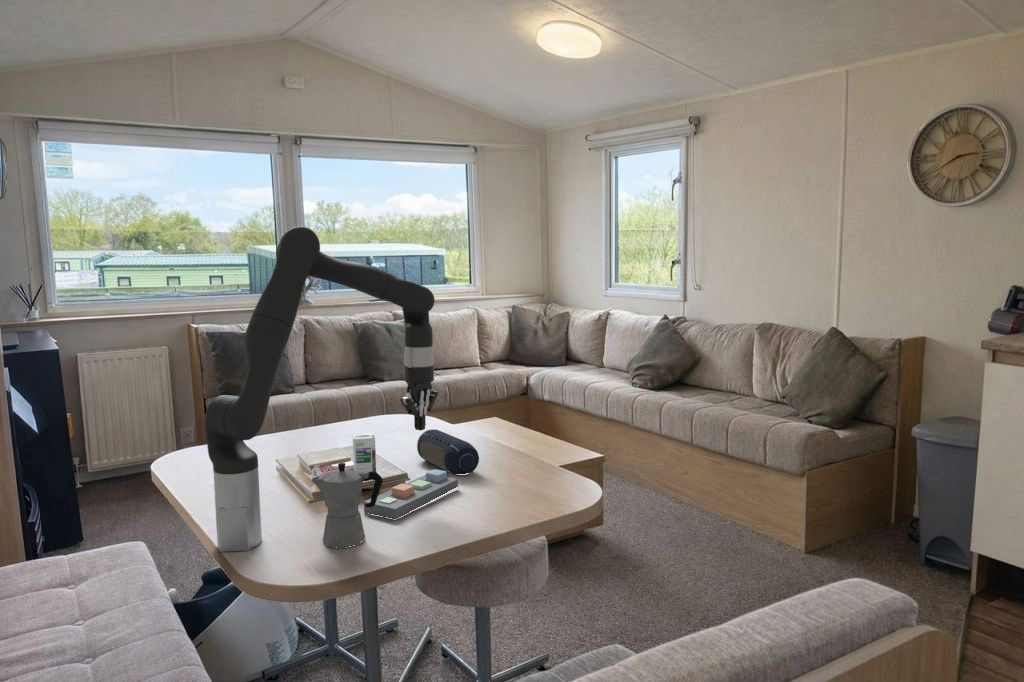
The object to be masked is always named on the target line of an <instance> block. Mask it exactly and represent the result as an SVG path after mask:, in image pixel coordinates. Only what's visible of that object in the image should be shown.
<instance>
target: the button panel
mask: <svg viewBox="0 0 1024 682" xmlns="http://www.w3.org/2000/svg"><path fill="white" fill-rule="evenodd" d="M417 480H422V481H426V474H424V475H421V476H420V477H418V478H415V479H413V480H411V481H408V482H406V483H405V484H407V485H409V484H411V483H413V482H415V481H417ZM427 482H429V481H427ZM456 487H458V488H459V479H457V478H452V477H448V476H447V480H444V481H442V482H440V483H434V482H431V487H429V488H427V489H425V490H423V491H420V490H415V489H414V495H412V496H410V497H407V498H405V499H402V498H398V497H394V496H392V489H390V490H388V491H385V492H383V493H379V494H378V497H377V500H376V503H375V506H374V507H369V508H366V506H365V504H367V503H370V502H371V498H369V499H366V500H364V501H363V513H364V512H365V513H369V514H374V515H379V516H383V517H388V518H392V519H397V518H399V517H401V516H403V515H405V514H407V513H409V512H410V511H412V510H414V509H416V508H418V507H420V506H422V505H424V504H426V503H428V502H430V501H431V500H433V499H435V498H437V497H439V496H441V495H443V494H445V493H447V492H448V491H450V490H452V489H454V488H456ZM365 513H364V514H365ZM369 514H368V515H369Z"/></svg>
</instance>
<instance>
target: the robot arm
mask: <svg viewBox="0 0 1024 682" xmlns="http://www.w3.org/2000/svg"><path fill="white" fill-rule="evenodd" d="M275 256H276V262H275V265H274V269H273V272H272V275H271V277H270V279H269V281H268V283H267V285H266V286H265V287H264V288H265V289H264V290H263V292H262V294H261V296H260V297H259V299H258V302H257V304H256V306H255V308H254V310H253V312H252V315H251V317H250V320H249V322H248V326H247V328H246V330H245V333H244V338H243V342H244V345H243V346H244V351H245V357H246V363H247V375H246V378H245V379H246V380H245V383H244V385H243V388H242V390H241V393H240V394H239V396H238V395H229V394H228V395H227V394H223V395H222V394H221V395H218V396H216V397H213V399H211V401H210V402H209V404H208V405H207V407H206V412H205V416H204V417H205V418H204V426H205V427H204V428H205V436H206V445H207V454H208V457H209V459H210V461H211V463H212V468H213V469H212V470H213V485H214V486H213V487H214V503H215V505H214V506H215V522H216V524H215V525H216V539H217V548H218V549H219V552H220V553H221V552H243V551H250V550H251V549H253V548H254V547H256V546H258V545H259V544H261V542H262V540H263V537H262V536H263V535H262V519H261V517H262V516H261V514H262V513H261V500H260V499H261V496H260V495H261V494H260V474H259V473H260V472H259V457H258V454H257V453H256V452H255V450H253V449H251V448H250V447H249V446H248V445H247V444H246V443H245V441H249V440H252V439H253V438H255V437H256V436H257V435H258V434H259V432H260V430H261V429H262V427H263V425H264V422H265V419H266V416H267V415H266V414H267V412H268V407H269V405H270V404H269V403H270V398H271V394H272V391H273V387H274V381H275V378H276V376H277V374H278V370H279V366H280V364H281V360H282V357H283V354H284V352H285V349H286V347H287V344H288V342H289V339H290V336H291V333H292V330H293V327H294V323H295V320H296V316H297V313H298V309H299V307H300V301H301V297H302V293H303V289H304V286H305V283H306V282H307V279H308V277H311V278H317V279H320V280H324V281H328V282H331V283H335V284H338V285H342V286H345V287H347V288H350V289H352V290H355V291H357V292H361V293H363V294H366V295H368V296H371V297H373V298H374V299H375V298H376V299H377V300H378V299H379V300H381V301H384V302H386V303H392V304H393V305H396V306H398V307H401V308H402V314H403V320H404V355H403V356H404V360H403V361H404V362H403V364H404V366H403V367H404V368H403V369H404V381H405V383H406V384H407V387H406V394H405V396H404V397H401V398H400V400H399V401H400V403H401V404H402V405H403V407H404V409H405V410H406V412H407V414H408V415H412V416H413V417H414V420H413V421H414V429H415V430H416V431H424V430H425V429H426V423H427V422H426V416H427V414H428V412H431V411H432V409H433V406H434V404H435V402H436V400H437V397H438V395H439V392H438V391H437V390H434V389H433V386H432V385H433V384H432V383H433V382H434V380H435V362H434V361H435V357H434V356H435V354H434V349H433V348H434V347H433V343H434V342H433V340H434V339H433V336H434V335H433V328H432V326H431V322H430V314H429V313H430V311H431V310H432V309H433V308H434V305H435V300H436V299H435V296H434V294H433V291H431V289H429V288H428V287H426V286H423V285H421V284H417V283H415V282H412V281H410V280H406V279H404V278H400V277H398V276H397V275H394V274H392V273H390V272H388V271H385V270H383V269H381V268H378V267H376V266H373V265H370V264H366V263H361V262H357V261H356V262H355V261H349V260H345V259H344V260H343V259H340V258H336V257H333V256H330V255H328V254H326V253H323V252H322V251H321V242H320V239H319V237H318V235H317V234H316V232H315V231H314V230H312V228H309V227H307V226H303V225H300V226H294V227H292V228H290V229H288V230H287V231H285V233H284V234H283V235H281V238H280V240H279V242H278V244H277V248H276V250H275Z"/></svg>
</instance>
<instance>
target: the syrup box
mask: <svg viewBox="0 0 1024 682" xmlns="http://www.w3.org/2000/svg"><path fill="white" fill-rule="evenodd" d="M352 448H353V449H352V451H353V471H359V472H371V471H375V472H377V455H376V437H375V434H374V432H372V433H360V434H352ZM368 481H369V480H368Z"/></svg>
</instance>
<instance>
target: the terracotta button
mask: <svg viewBox="0 0 1024 682" xmlns="http://www.w3.org/2000/svg"><path fill="white" fill-rule="evenodd" d="M391 490H392V496H394V497H398V498H402V499H405V498H407V497H410V496H412V495H414V486H412V485H407V484H406V483H400V484H397V485H395V486H392V487H391Z"/></svg>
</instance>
